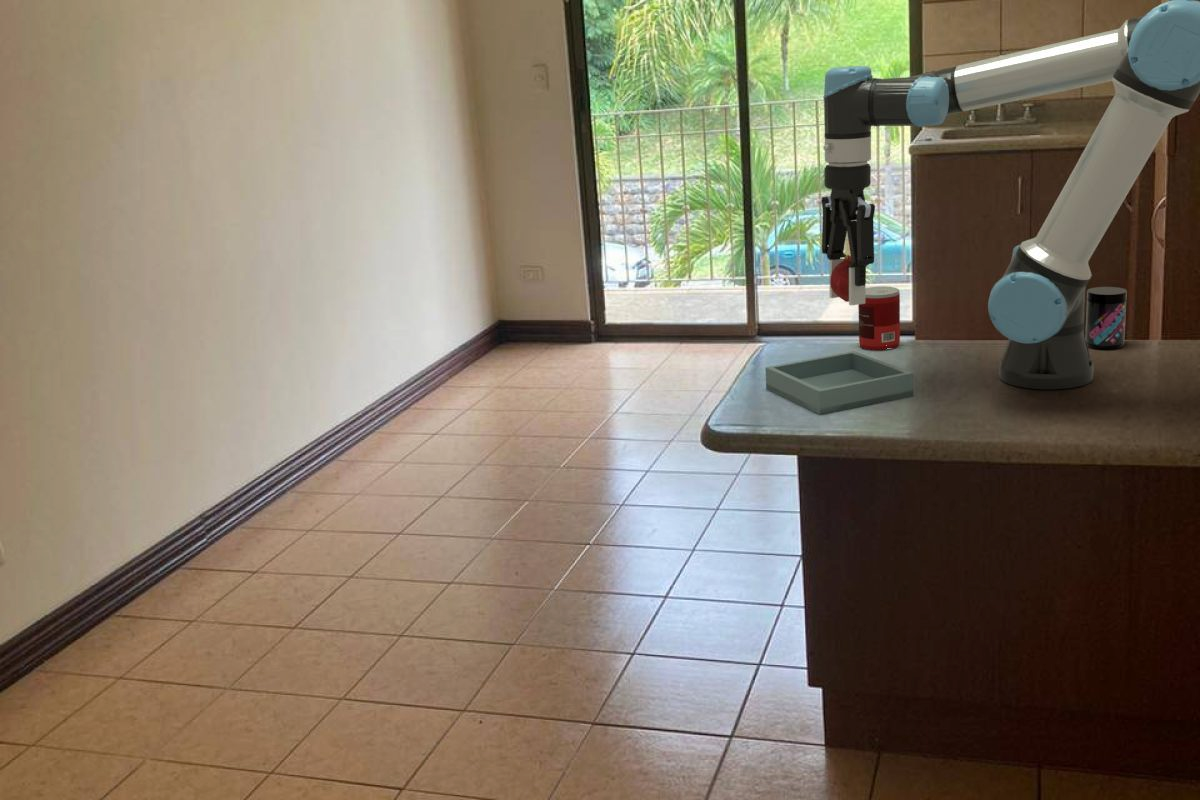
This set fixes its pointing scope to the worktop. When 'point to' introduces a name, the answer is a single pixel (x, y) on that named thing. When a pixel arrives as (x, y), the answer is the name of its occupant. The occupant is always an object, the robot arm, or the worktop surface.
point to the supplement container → (1105, 317)
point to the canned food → (879, 318)
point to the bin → (839, 382)
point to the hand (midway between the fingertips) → (847, 300)
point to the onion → (841, 279)
